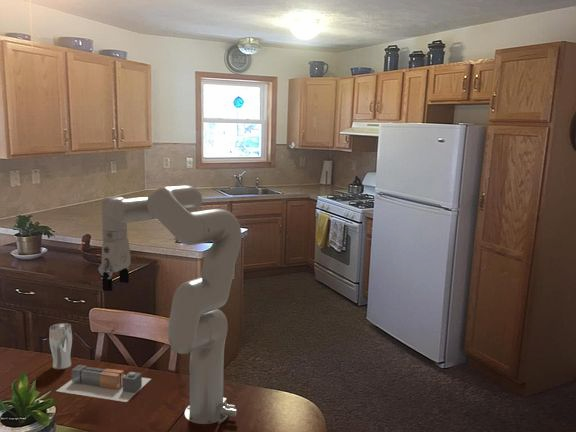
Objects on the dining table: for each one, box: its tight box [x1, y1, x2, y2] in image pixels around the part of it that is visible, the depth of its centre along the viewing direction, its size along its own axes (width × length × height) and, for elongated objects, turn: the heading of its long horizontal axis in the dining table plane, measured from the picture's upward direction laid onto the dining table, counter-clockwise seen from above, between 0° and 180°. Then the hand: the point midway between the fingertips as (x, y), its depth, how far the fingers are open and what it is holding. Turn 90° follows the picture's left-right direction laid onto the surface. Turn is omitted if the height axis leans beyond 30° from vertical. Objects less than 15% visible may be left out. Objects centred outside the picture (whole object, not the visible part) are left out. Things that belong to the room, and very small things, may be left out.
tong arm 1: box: [70, 366, 120, 389], centre depth 155 cm, size 16×2×4 cm, turn 76°
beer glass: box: [48, 322, 73, 370], centre depth 167 cm, size 7×7×15 cm
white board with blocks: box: [56, 371, 152, 403], centre depth 155 cm, size 24×15×6 cm, turn 77°
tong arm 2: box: [75, 364, 125, 386], centre depth 157 cm, size 16×2×4 cm, turn 79°
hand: (116, 286), depth 161 cm, fingers open, 9 cm apart
